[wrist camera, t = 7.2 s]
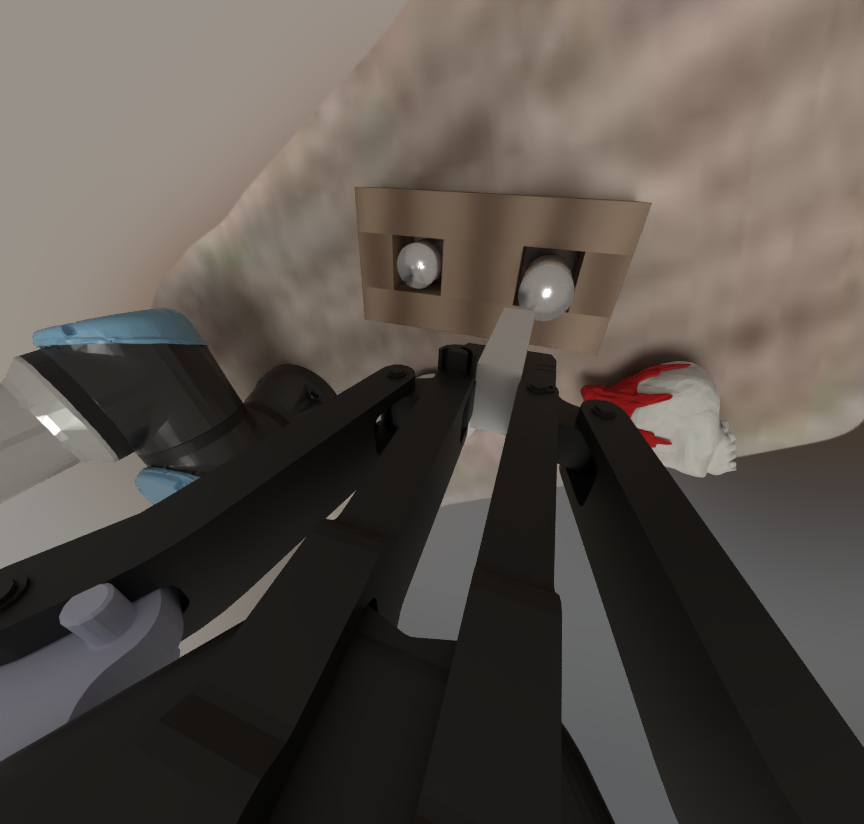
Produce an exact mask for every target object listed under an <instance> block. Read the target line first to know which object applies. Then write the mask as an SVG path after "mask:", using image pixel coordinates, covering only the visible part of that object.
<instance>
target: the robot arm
mask: <svg viewBox="0 0 864 824" xmlns="http://www.w3.org/2000/svg"><path fill="white" fill-rule="evenodd" d="M535 313H536V311H530V310H522V309H514V308H506V307H505V308H504V310H503V312H502V314H501V316H500V318H499V320H498V322H497V324H496V326H495V328H494V330H493V332H492V334H491V337H490V339H489V341H488V343H487V345H486V346H485V345H479V344H473V343H468V344H466V345H457V344H453V345H446V346H443V347H441V348H440V349H439V359H438V371H437V373H436V374H435V376H434V377H432V378H415V371H414V370H413V369H412V368H410V367H408V366H404V365H399V364H396V365H391V366H387V367H384V368H382V369H380V370H379V371H377V372H375V373H374V374H372V375H370V376H369V377H367V378H365V379H364V380H362V381H360V382H359V383H357V384H355V385H354V386H352V387H350V388H349V389H347V390H345V391H344V392H342V393H340V394H339V395H337V396H336V395H335V393H334V392H333V390H332V389H331V388H330V387H329V386H328V385H327V384H326V383H325V382H324V381H323V380H322V379H321V378H320V377H318V376H317V375H315V374H314V373H312V372H311V371H309V370H307V369H304V368H302V367H299V366H295V365H281V366H277V367H275V368H273V369H272V370H270V371H269V372H267V373H266V374H264V375H263V376H262V377H261V378H260V379H259V381H258V382H257V384H256V387H255V389H254V390H253V391H252V392H251V393H250V395H249V396H248V397H247V399H246V400H245V402H244V403H242V401H241V399H240V398H239V396H238V395H237V393H236V391H235V390H234V388H233V387H232V385H231V384H230V382H229V381H228V379H227V378H226V376H225V374H224V373H223V371H222V370H221V368H220V367H219V365H218V363H217V362H216V360H215V359H214V357H213V355H212V354H211V352H210V350H209V349H208V347H207V346H208V345H207V343H206V342H205V341H203V340H202V338H201V337H200V336H199V334H198V333H197V332H196V330H195V329H194V328H193V326H192V325H191V323H190V322H189V320H188V319H187V318H186V317H185V316H184V315H183V314H181V313H179V312H177V311H175V310H171V309H151V310H142V311H135V312H128V313H122V314H116V315H109V316H104V317H98V318H93V319H88V320H83V321H78V322H76V323H69V324H65V325H61V326H53V327H49V328H45V329H41V330H38V331H36V332H34V334H33V336H32V338H33V340H34V342H33V344H34V345H35V346H36V347H40V348H41V349H39V350H37V351H34V352H30V353H27V354H24V355H20V356H17V357H14V358H13V360H12V363H11V365H10V368H9V370H8V373H7V375H6V377H5V379H3V381H2V382H1V383H0V504H1V503H3V502H5V501H6V500H8V499H10V498H12V497H14V496H16V495H18V494H20V493H22V492H24V491H26V490H28V489H30V488H31V487H33V486H35V485H37V484H39V483H41V482H43V481H45V480H47V479H49V478H51V477H53V476H55V475H57V474H59V473H61V472H62V471H64V470H66V469H68V468H70V467H72V466H74V465H76V464H78V463H80V462H84V461H101V462H116V461H118V460H120V459H122V458H124V457H126V456H128V455H129V454H131V453H133V452H135V453H136V454H137V455H138V456H139V457H140V458H141V459H142V460H143V461H144V463H145V464H146V465H147V468H144V469H143V470H141V471H140V472H139V474H138V475H137V477H136V479H135V484H136V486H137V487H139V491H140V493H141V494H142V495H143V496H144V497H145V498H146V499H147V500H149V501H150V502H151V503H152V504H153V506H151V507H150V508H148V509H146V510H145V511H143V512H141V513H140V514H137V515H134V516H132V517H130V518H127V519H124V520H122V521H119V522H117V523H114V524H112V525H109V526H107V527H105V528H102V529H99V530H97V531H94V532H92V533H89V534H87V535H84V536H82V537H79V538H77V539H74V540H72V541H69V542H67V543H64V544H62V545H59V546H57V547H54V548H52V549H49V550H46V551H44V552H41V553H39V554H37V555H34V556H31V557H29V558H26V559H24V560H22V561H19V562H16V563H14V564H11V565H9V566H7V567H4V568H2V569H0V824H615V822H614V820H613V818H612V816H611V814H610V812H609V810H608V808H607V806H606V804H605V801H604V800H603V797H602V795H601V793H600V791H599V789H598V787H597V785H596V783H595V781H594V779H593V776H592V774H591V772H590V770H589V768H588V766H587V764H586V762H585V760H584V758H583V756H582V754H581V752H580V751H579V749H578V747H577V746H576V744H575V742H574V740H573V739H572V737H571V736H570V734H569V732H568V731H567V729H566V728H565V726H564V725H563V724H562V722H561V697H562V693H561V692H562V689H561V688H562V685H561V684H562V609H561V600H560V596H559V595H558V594H557V593H556V592H555V590H554V555H555V553H554V552H555V517H556V516H555V515H556V479H557V463H558V464H560V466H559V471H560V475H561V478H562V481H563V484H564V487H565V490H566V493H567V496H568V499H569V502H570V505H571V508H572V511H573V514H574V517H575V520H576V523H577V526H578V529H579V532H580V535H581V538H582V541H583V544H584V547H585V550H586V554H587V557H588V560H589V563H590V566H591V569H592V572H593V575H594V578H595V581H596V583H597V587H598V590H599V593H600V596H601V599H602V602H603V605H604V608H605V611H606V614H607V617H608V620H609V624H610V627H611V630H612V633H613V636H614V639H615V642H616V645H617V648H618V651H619V654H620V657H621V660H622V663H623V666H624V669H625V672H626V675H627V678H628V681H629V684H630V687H631V690H632V693H633V697H634V700H635V703H636V706H637V709H638V711H639V715H640V718H641V721H642V724H643V727H644V730H645V733H646V736H647V739H648V742H649V745H650V748H651V751H652V754H653V757H654V760H655V763H656V766H657V769H658V772H659V774H660V777H661V780H662V782H663V785H664V788H665V790H666V793H667V796H668V799H669V801H670V804H671V807H672V809H673V812H674V814H675V816H676V819H677V821H678V823H679V824H864V747H863V746H862V744H861V743H860V742H859V740H858V739H857V737H856V736H855V735H854V733H853V732H852V730H851V729H850V727H849V726H848V725H847V724H846V722H845V721H844V719H843V718H842V716H841V715H840V713H839V712H838V711H837V709H836V708H835V706H834V705H833V704H832V702H831V701H830V699H829V698H828V696H827V695H826V694H825V692H824V691H823V689H822V688H821V687H820V685H819V684H818V683H817V681H816V680H815V678H814V677H813V675H812V674H811V673H810V671H809V670H808V668H807V667H806V665H805V664H804V663H803V661H802V660H801V658H800V657H799V656H798V654H797V653H796V651H795V650H794V648H793V647H792V646H791V644H790V643H789V642H788V640H787V639H786V637H785V636H784V634H783V633H782V632H781V630H780V629H779V628H778V626H777V624H776V623H775V622H774V620H773V619H772V617H771V616H770V615H769V613H768V612H767V610H766V609H765V608H764V606H763V605H762V603H761V602H760V600H759V599H758V598H757V596H756V595H755V593H754V592H753V591H752V589H751V588H750V586H749V585H748V584H747V582H746V581H745V580H744V578H743V576H742V575H741V574H740V572H739V571H738V569H737V568H736V567H735V565H734V564H733V562H732V561H731V560H730V558H729V557H728V555H727V554H726V552H725V551H724V550H723V548H722V547H721V545H720V544H719V543H718V541H717V540H716V538H715V537H714V536H713V534H712V533H711V531H710V530H709V529H708V527H707V526H706V524H705V523H704V521H703V520H702V519H701V517H700V516H699V514H698V513H697V512H696V510H695V509H694V507H693V506H692V505H691V503H690V502H689V500H688V499H687V497H686V496H685V495H684V493H683V492H682V490H681V489H680V488H679V486H678V485H677V483H676V482H675V481H674V479H673V478H672V477H671V475H670V474H669V472H668V471H667V469H666V468H665V466H664V465H663V464H662V462H661V461H660V459H659V458H658V457H657V455H656V454H655V452H654V451H653V449H652V448H651V447H650V445H649V444H648V442H647V441H646V440H645V438H644V437H643V435H642V434H641V433H640V431H639V430H638V428H637V427H636V425H635V424H634V423H633V421H632V420H631V418H630V417H629V416H628V414H627V413H626V412H625V411H624V410H623V409H622V408H621V407H619V406H617V405H615V404H614V403H612V402H608V401H606V400H598V399H592V400H587V401H584V402H583V403H582V404H581V406H580V407H578V406H575V405H572V404H570V403H568V402H566V401H564V400H562V399H561V398H560V397H559V391H558V388H557V387H556V360H555V358H554V357H553V356H552V355H550V354H543V353H537V352H530V351H527V350H528V346H529V341H530V336H531V331H532V327H533V322H534V317H535ZM380 415H381V420H380V421H379V422H377V423H376V420H377V418H378V417H379V416H380ZM470 419H471V421H470ZM469 422H470V427H471V428H475V429H480V430H484V431H489V432H494V433H498V434H503V435H506V439H505V443H504V447H503V451H502V456H501V460H500V464H499V468H498V473H497V477H496V481H495V486H494V490H493V494H492V498H491V503H490V507H489V511H488V515H487V520H486V524H485V528H484V532H483V537H482V541H481V545H480V550H479V554H478V558H477V562H476V566H475V569H474V572H473V576H472V580H471V584H470V589H469V593H468V597H467V601H466V606H465V610H464V614H463V618H462V622H461V627H460V631H459V635H458V640H457V641H453V640H441V639H428V638H416V637H410V636H407V635H406V634H404V633H403V632H401V631H400V630H399V629H398V628H397V625H398V621H399V616H400V611H401V608H402V604H403V601H404V598H405V596H406V593H407V591H408V588H409V585H410V583H411V580H412V577H413V575H414V572H415V570H416V567H417V564H418V562H419V559H420V557H421V554H422V551H423V549H424V546H425V543H426V541H427V538H428V536H429V533H430V530H431V528H432V525H433V523H434V520H435V518H436V515H437V512H438V510H439V507H440V505H441V502H442V499H443V497H444V494H445V492H446V489H447V486H448V484H449V481H450V478H451V476H452V473H453V471H454V468H455V465H456V463H457V460H458V458H459V455H460V452H461V450H462V447H463V445H464V442H465V439H466V437H467V432H468V424H469ZM355 491H356V492H355ZM354 492H355V493H354ZM352 493H354V495H353V496H352V498H351V499H350V501H349V502H348V504H347V505H346V506H345V508H344V509H343V511H342V512H341V514H340V515H339V516H338V517H337V518H336V519H334V520H329V519H326V518H327V517H328V516H329V515H330V514H331V513H332V512H333V511H334V510H335V509H336V508H337V507H338V506H340V505H341V504H342V503H343V502H344V501H345V500H346V499H347V498H348V497H349V496H350V495H351V494H352ZM306 536H307V537H306ZM305 537H306V538H305ZM304 538H305V540H304V541H303V542H302V543H301V545H300V546H299V548H298V549H297V550H296V552H295V553H294V554H293V556H292V557H291V559H290V560H289V561H288V563H287V564H286V565H285V567H284V568H283V569H282V571H281V572H280V574H279V575H278V576H277V578H276V579H275V580H274V582H273V583H272V584H271V586H270V587H269V588H268V590H267V591H266V593H265V594H264V595H263V597H262V598H261V599H260V601H259V602H258V603H257V605H256V606H255V608H254V609H253V610H252V612H251V613H250V615H249V616H248V617H247V619H246V620H244V621H242V622H241V623H239V624H237V625H236V626H234V627H232V628H230V629H229V630H227V631H225V632H223V633H222V634H220V635H218V636H216V637H215V638H213V639H211V640H210V641H208V642H206V643H204V644H203V645H201V646H199V647H198V648H196V649H194V650H192V651H190V652H189V653H187V654H185V655H184V656H182V657H180V658H179V656H180V649H179V648H178V646H179V644H180V642H181V641H182V640H184V639H186V638H187V637H189V636H190V635H192V634H193V633H195V632H196V631H198V630H199V629H201V628H202V627H204V626H205V625H206V624H208V623H209V622H210V621H212V620H213V619H214V618H216V617H217V616H218V615H220V614H221V613H222V612H224V611H225V610H226V609H227V608H228V607H229V606H231V605H232V604H233V603H234V602H235V601H237V600H238V599H239V598H240V597H241V596H242V595H244V594H245V593H246V592H247V591H248V590H249V589H250V588H251V587H252V586H254V585H255V584H256V583H257V582H258V581H259V580H260V579H261V578H262V577H263V576H264V575H265V574H266V573H267V572H269V571H270V570H271V569H272V568H273V567H274V566H275V565H276V564H277V563H278V562H279V561H280V560H282V559H283V558H284V557H285V556H286V555H287V554H288V553H289V552H290V551H291V550H292V549H293V548H294V547H295V546H297V545H298V544H299V543H300V542H301V541H302V540H303V539H304Z"/></svg>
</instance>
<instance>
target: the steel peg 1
mask: <svg viewBox="0 0 864 824" xmlns="http://www.w3.org/2000/svg"><path fill="white" fill-rule="evenodd" d="M443 246H444V240H442V239H437V238H425V239H422V240H419V241H417V242H414V243H411V244H409V245H407V246H405V247H404V248H403V249H402V250H401V252H400V253H399V256H398V260H397V268H398V272H399V275H400V277H401V279H402V280H403V281H404V282H405V283H406V284H407V285H409V286H410V287H413V288H424V287H426V286H428V285H429V284H431V283H432V282H433V281H435V280H436V279H437V278H439V277H440V276H441V275H442V264H443Z"/></svg>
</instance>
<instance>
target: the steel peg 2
mask: <svg viewBox="0 0 864 824" xmlns="http://www.w3.org/2000/svg"><path fill="white" fill-rule="evenodd" d="M573 298H574V284H573V279H572V274H571V270H570V267H569V265H568V263H567V262H566V261H565V260H564V259H563V258H562V257H560V256H557V255H552V254H548V255H543V256H540V257H538V258H536V259H535V260H534V261H533V262H531V264H530V265H529V266H528V267H527V269H526V271H525V274H524V277H523V279H522V282H521V285H520V288H519V292H518V301H519V305H520V308H521V309H522V310H530V311H536V313H535V317H534V320H537V321H549V320H553V319H555V318H557V317H559V316H561V315H562V314H563V313H564V312H565V311H566V310H567V309H568V308H569V306H570V305H571V303H572V301H573Z"/></svg>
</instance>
